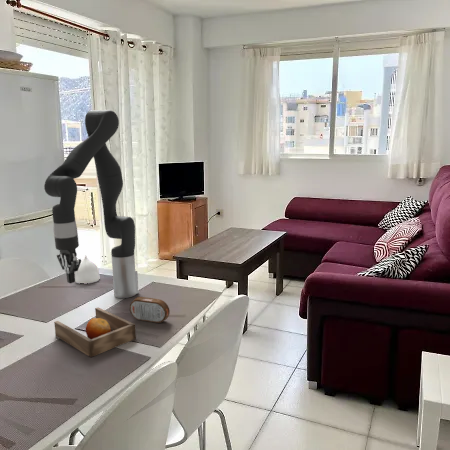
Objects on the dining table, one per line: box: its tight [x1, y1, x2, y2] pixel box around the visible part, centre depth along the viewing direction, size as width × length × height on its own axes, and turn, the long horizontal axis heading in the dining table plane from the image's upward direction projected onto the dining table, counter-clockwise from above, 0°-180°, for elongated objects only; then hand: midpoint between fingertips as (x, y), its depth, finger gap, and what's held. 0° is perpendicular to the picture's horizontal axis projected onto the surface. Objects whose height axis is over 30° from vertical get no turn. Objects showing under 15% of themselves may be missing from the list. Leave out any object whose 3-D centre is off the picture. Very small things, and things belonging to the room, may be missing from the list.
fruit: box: [85, 317, 112, 339], centre depth 141 cm, size 8×8×8 cm
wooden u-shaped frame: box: [54, 307, 137, 358], centre depth 142 cm, size 16×22×5 cm
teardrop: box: [74, 255, 101, 285], centre depth 200 cm, size 11×11×12 cm
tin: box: [129, 296, 171, 324], centre depth 154 cm, size 15×3×8 cm, turn 71°
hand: (71, 282), depth 152 cm, fingers closed
